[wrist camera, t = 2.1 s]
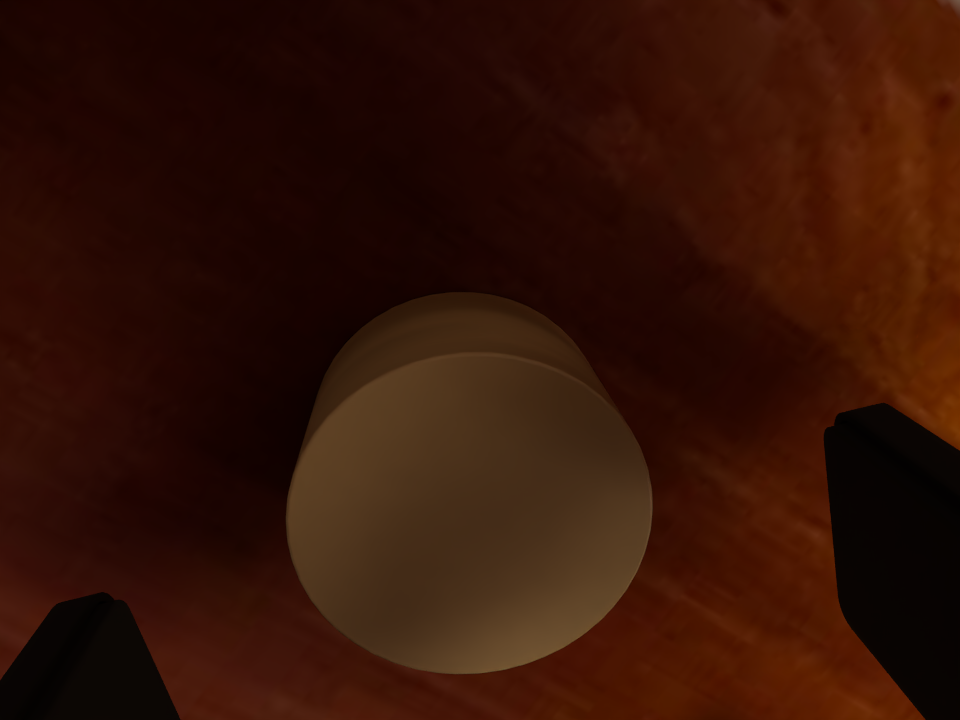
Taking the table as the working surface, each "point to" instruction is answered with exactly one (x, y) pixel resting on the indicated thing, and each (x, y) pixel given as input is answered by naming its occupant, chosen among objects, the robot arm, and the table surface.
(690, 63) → the table surface
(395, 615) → the cylinder
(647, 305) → the table surface
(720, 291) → the table surface
